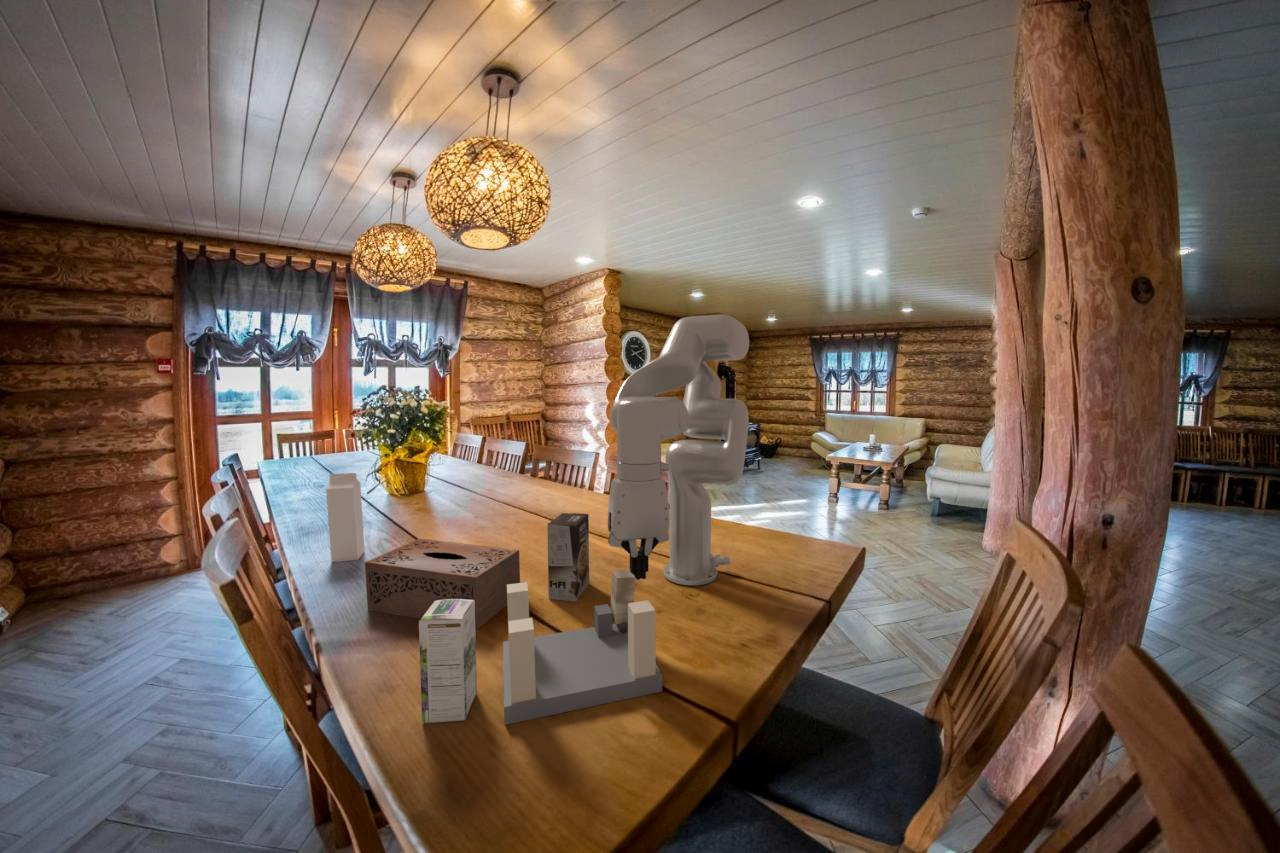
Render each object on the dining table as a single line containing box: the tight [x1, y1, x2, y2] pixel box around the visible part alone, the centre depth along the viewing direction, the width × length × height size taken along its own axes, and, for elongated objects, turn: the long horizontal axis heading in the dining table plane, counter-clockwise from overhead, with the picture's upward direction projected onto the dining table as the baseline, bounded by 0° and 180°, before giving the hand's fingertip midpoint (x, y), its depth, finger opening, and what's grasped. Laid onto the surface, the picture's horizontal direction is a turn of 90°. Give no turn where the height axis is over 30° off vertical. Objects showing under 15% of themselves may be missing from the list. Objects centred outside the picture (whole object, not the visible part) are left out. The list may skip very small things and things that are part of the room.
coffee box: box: [547, 512, 590, 603], centre depth 99 cm, size 9×6×16 cm
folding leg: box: [610, 569, 636, 633], centre depth 79 cm, size 3×4×10 cm
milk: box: [325, 472, 366, 563], centre depth 118 cm, size 6×6×22 cm
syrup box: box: [418, 599, 478, 724], centre depth 63 cm, size 6×6×14 cm
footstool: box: [502, 581, 663, 726], centre depth 71 cm, size 22×16×12 cm
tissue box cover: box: [364, 538, 521, 630], centre depth 95 cm, size 26×14×10 cm, turn 73°
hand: (638, 576), depth 80 cm, fingers closed
